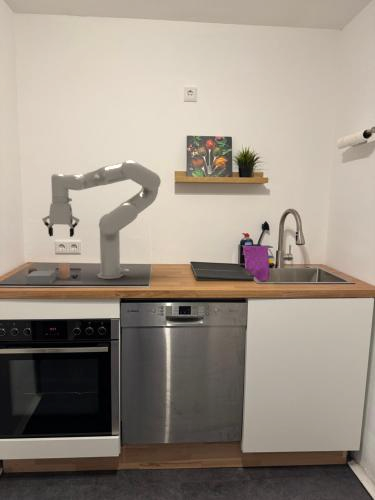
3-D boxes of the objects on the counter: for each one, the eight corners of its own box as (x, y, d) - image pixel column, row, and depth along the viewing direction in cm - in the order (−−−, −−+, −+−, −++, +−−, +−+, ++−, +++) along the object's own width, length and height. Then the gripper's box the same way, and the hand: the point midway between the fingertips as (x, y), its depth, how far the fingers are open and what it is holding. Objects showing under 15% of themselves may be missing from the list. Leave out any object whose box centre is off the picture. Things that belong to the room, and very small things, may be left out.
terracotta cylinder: (70, 276, 176) (70, 262, 175) (68, 278, 171) (68, 264, 170) (60, 276, 175) (59, 262, 174) (58, 279, 170) (57, 264, 169)
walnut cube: (37, 275, 177) (37, 267, 177) (37, 277, 174) (37, 269, 173) (28, 275, 176) (28, 268, 175) (28, 277, 172) (28, 269, 171)
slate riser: (55, 278, 170) (54, 270, 170) (50, 284, 161) (49, 275, 160) (33, 279, 169) (33, 271, 168) (27, 284, 159) (26, 275, 159)
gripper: (80, 201, 171) (81, 235, 174) (44, 199, 170) (45, 234, 173) (76, 201, 164) (77, 237, 166) (39, 200, 163) (40, 236, 166)
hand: (61, 236), depth 170 cm, fingers open, 9 cm apart
